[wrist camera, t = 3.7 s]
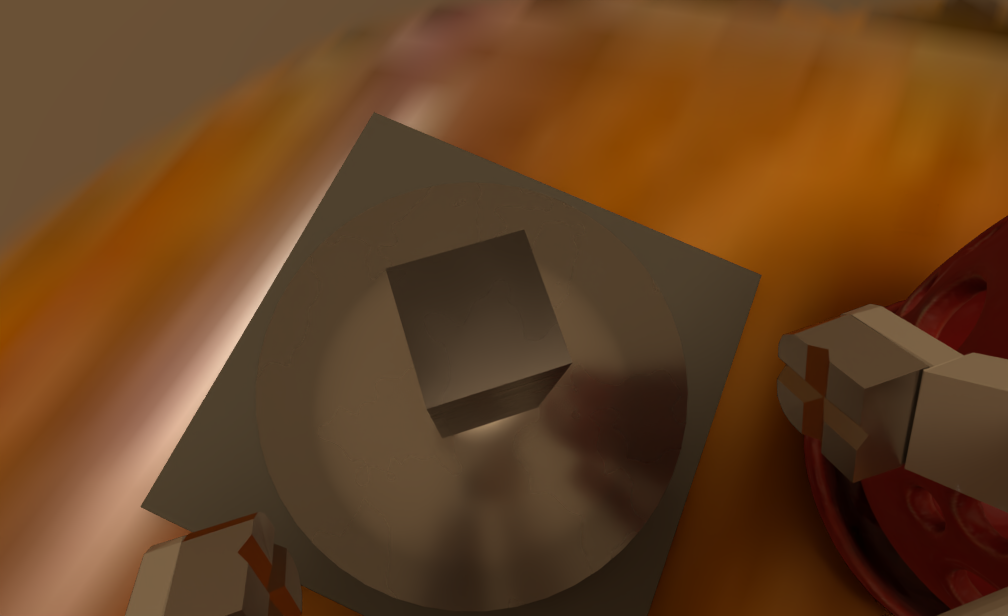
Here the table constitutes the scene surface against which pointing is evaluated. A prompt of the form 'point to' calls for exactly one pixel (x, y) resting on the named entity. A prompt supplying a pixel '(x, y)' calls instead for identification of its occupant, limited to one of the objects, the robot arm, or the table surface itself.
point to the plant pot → (911, 497)
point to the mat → (357, 187)
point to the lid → (471, 396)
